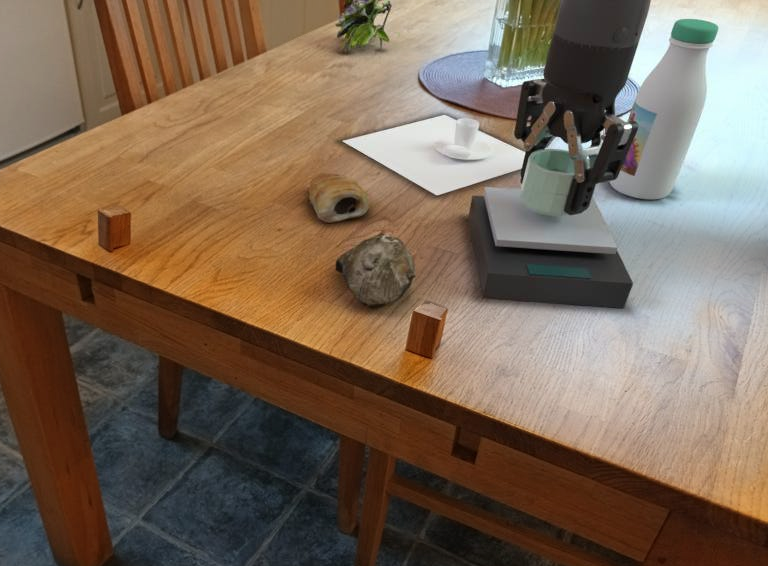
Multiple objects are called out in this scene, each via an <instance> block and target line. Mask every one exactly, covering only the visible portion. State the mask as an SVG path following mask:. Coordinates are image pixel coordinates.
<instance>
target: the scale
mask: <svg viewBox="0 0 768 566" xmlns="http://www.w3.org/2000/svg"><path fill="white" fill-rule="evenodd" d="M520 191H521V188H508V187H507V188H505V187H489V186H485V187H484V188H483V195H472V196H471V201H470V206H469V210H468V215H467V220H468V226H469V232H470V236H471V237H470V238H471V242H472V249H473V252H474V259H475V265H476V269H477V275H478V281H479V286H480V290H481V297H482V298H483V299H492V300H507V301H521V302H534V303H535V302H536V303H547V304H561V305H574V306H586V307H588V306H589V307H600V308H614V309H624V308H625V306H626V303H627V301H628V298H629V297H630V293H631V290H632V287H633V285H634V282H633V280H632V278H631V276H630V274H629V272H628V270H627V267H626V266H625V263H624V261H623V258H622V257H621V255H620V253H619V251H618V245H617V243H616V240H615V239H614V237H613V234H612V232H611V231H610V229H609V227H608V225H607V223H606V220H605V218H604V216H603V214H602V212H601V210H600V208H599V207H598V204H597V202H596V200H595V198H594V195H593V196H592V199H591V201H590V205H589V207H588V208H587V210H584V211H583V212H582V213H580V214H575V215H565V216H549V215H544V214H540V213H537V212H534V211H532V210H530V209H529V208H528V207H526V206H525V205H524V203H523V201H522V200H521V198H520Z"/></svg>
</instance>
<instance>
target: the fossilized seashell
mask: <svg viewBox="0 0 768 566" xmlns="http://www.w3.org/2000/svg"><path fill="white" fill-rule="evenodd" d="M415 265H416V264H415V260H414V256H413V255H412V253H411V252H410V251H408V250H407V248H406V246H405V244H404V242H403V240H401V239H400V238H398V237H397V236H393V235H386V234H385V233H384V232H380V233H377V235H374V236H373V237H369V238H365V239H363V240H362V241H360V242H359V243H358V244H356V245H355V246H353V247H352V248H350V249H349V250H347V251H346V252H344V253H343V254H341V255H340V256H338V258H337V259H336V261H335V271H336V272H338V273H340V274H341V275H342V277H343V280H344V282H345V285H347V288H348V289H349V291H350V292H351V293H352V295H353V297H354V299H355V300H356V301H357V302H359V303H360V304H361V305H362V304H363V305H364V306H366V307H373V308H374V307H376V308H379V307H384V306H388V305H391V304H393V303H395V302H397V301H399V300H401V299H402V298H403V297H404V295H405V294H406V293H407V292H408V289H410V287H411V285H412V283H413V280H414V278H416V277H417V276H416V272H415Z"/></svg>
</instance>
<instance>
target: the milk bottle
mask: <svg viewBox="0 0 768 566" xmlns="http://www.w3.org/2000/svg"><path fill="white" fill-rule="evenodd" d="M718 32H719V26H718V24H717V23H714V22H711V21H709V20H703V19H697V18H680V19H678V20H676V21H674V23H673V26H672V28H671V32H670V37H669V38H668V42H669V46H668V48H667V49H666V51H665V53H664V55H663V56H662V58H661V59H660V60H659V62H658V63H657V64H656V66H655V67H654V68H653V69H652V70H651V72H649V74H648V75H647V76H646V78H645V79H644V81H643V82H642V84H641V85H640V87H639V89H638V91H637V93H636V96H635V99H634V102H633V104H632V106H631V110H630V111H629V115H628V118H627V121H626V122H628V121H636V122H637V124H638V130H637V133H636V135H635V137H634V140H633V142H632V145H631V147H630V149H629V152H628V154H627V156H626V159H625V161H624V163H623V166H622V168H621V170H620V173H619V175H618V177H617V179H616V180H612V181H609V184H610V186H611V187H612V188H613V189H614V190H615V191H617V192H619V193H621V194H623V195H625V196H628V197H632V198H636V199H642V200H660V199H665V198H666V197H668V196H669V195H670V194H671V193H672V191H673V189H674V187H675V184H676V182H677V179H678V177H679V175H680V172H681V170H682V167H683V164H684V162H685V159H686V156H687V154H688V151H689V148H690V147H691V146H690V145H691V144H692V141H693V138H694V135H695V132H696V130H697V127H698V125H699V122H700V120H701V116H702V114H703V111H704V108H705V103H706V99H707V93H708V83H707V69H706V67H707V56H708V52H709V50H710V48H712V47H713V44H714V41H715V39H716V37H717V34H718Z"/></svg>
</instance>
